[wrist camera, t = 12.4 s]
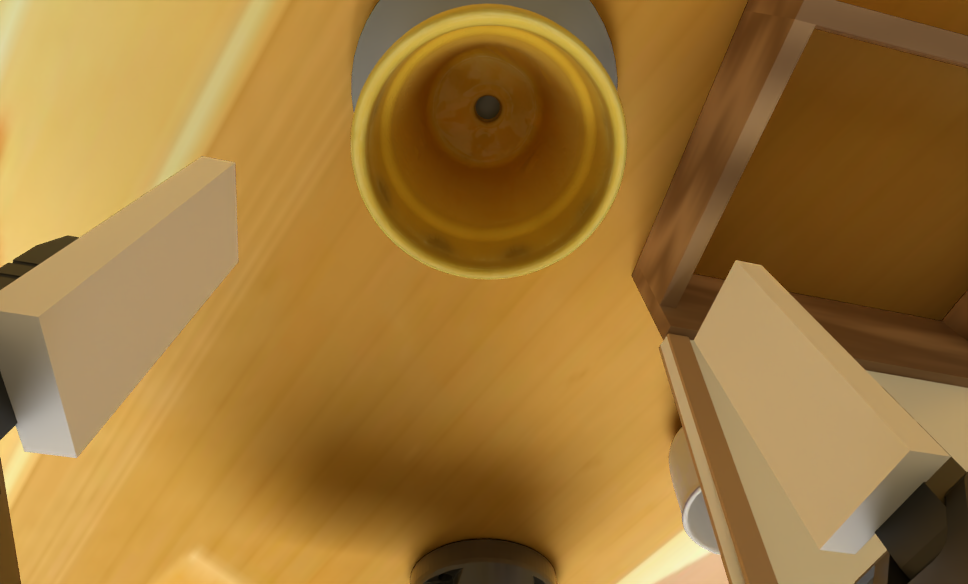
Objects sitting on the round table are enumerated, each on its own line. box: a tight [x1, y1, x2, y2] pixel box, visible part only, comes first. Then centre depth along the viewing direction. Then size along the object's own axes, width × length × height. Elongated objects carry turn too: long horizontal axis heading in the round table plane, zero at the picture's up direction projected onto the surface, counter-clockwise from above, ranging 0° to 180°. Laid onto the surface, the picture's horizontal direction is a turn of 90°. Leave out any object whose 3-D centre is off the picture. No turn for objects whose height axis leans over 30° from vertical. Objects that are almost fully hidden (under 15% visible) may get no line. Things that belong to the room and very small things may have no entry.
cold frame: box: [632, 0, 968, 388], centre depth 29 cm, size 17×24×7 cm
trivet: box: [351, 0, 617, 119], centre depth 28 cm, size 14×14×1 cm
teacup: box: [669, 427, 720, 554], centre depth 39 cm, size 14×11×8 cm
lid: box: [659, 333, 968, 584], centre depth 24 cm, size 4×24×16 cm, turn 78°
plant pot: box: [351, 4, 627, 280], centre depth 24 cm, size 10×10×10 cm
